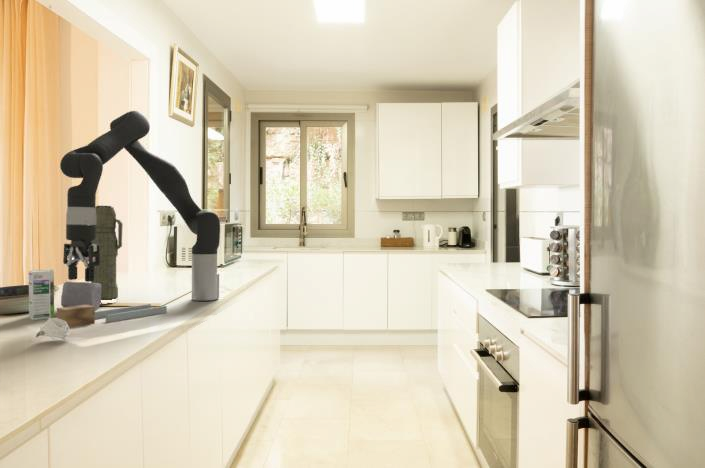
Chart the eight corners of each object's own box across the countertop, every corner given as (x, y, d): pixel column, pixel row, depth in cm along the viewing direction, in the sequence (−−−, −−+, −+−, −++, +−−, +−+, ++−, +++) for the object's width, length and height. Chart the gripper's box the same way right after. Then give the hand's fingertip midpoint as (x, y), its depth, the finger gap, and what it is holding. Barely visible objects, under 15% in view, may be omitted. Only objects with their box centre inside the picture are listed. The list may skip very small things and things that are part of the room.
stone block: (103, 311, 158) (103, 281, 158) (94, 314, 153) (94, 282, 153) (69, 310, 159) (69, 280, 159) (58, 313, 154) (58, 282, 154)
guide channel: (148, 309, 162) (148, 303, 162) (166, 312, 157) (166, 306, 157) (89, 319, 145) (89, 312, 145) (107, 322, 140) (107, 315, 140)
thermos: (120, 306, 170) (120, 205, 169) (82, 307, 166) (82, 205, 166) (124, 302, 178) (124, 206, 178) (88, 303, 174) (88, 206, 174)
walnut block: (86, 321, 142) (86, 304, 142) (94, 323, 139) (94, 306, 139) (56, 326, 135) (56, 308, 135) (64, 328, 132) (64, 310, 132)
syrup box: (31, 320, 142) (31, 271, 142) (28, 318, 146) (28, 269, 146) (54, 318, 146) (54, 270, 145) (50, 315, 150) (50, 268, 150)
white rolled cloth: (49, 334, 125) (49, 315, 125) (76, 333, 126) (76, 314, 126) (31, 341, 117) (31, 321, 117) (61, 340, 118) (61, 320, 118)
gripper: (54, 223, 139) (53, 280, 139) (82, 223, 131) (81, 283, 131) (80, 223, 145) (80, 278, 145) (108, 223, 138) (108, 281, 138)
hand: (81, 280), depth 138 cm, fingers open, 8 cm apart
